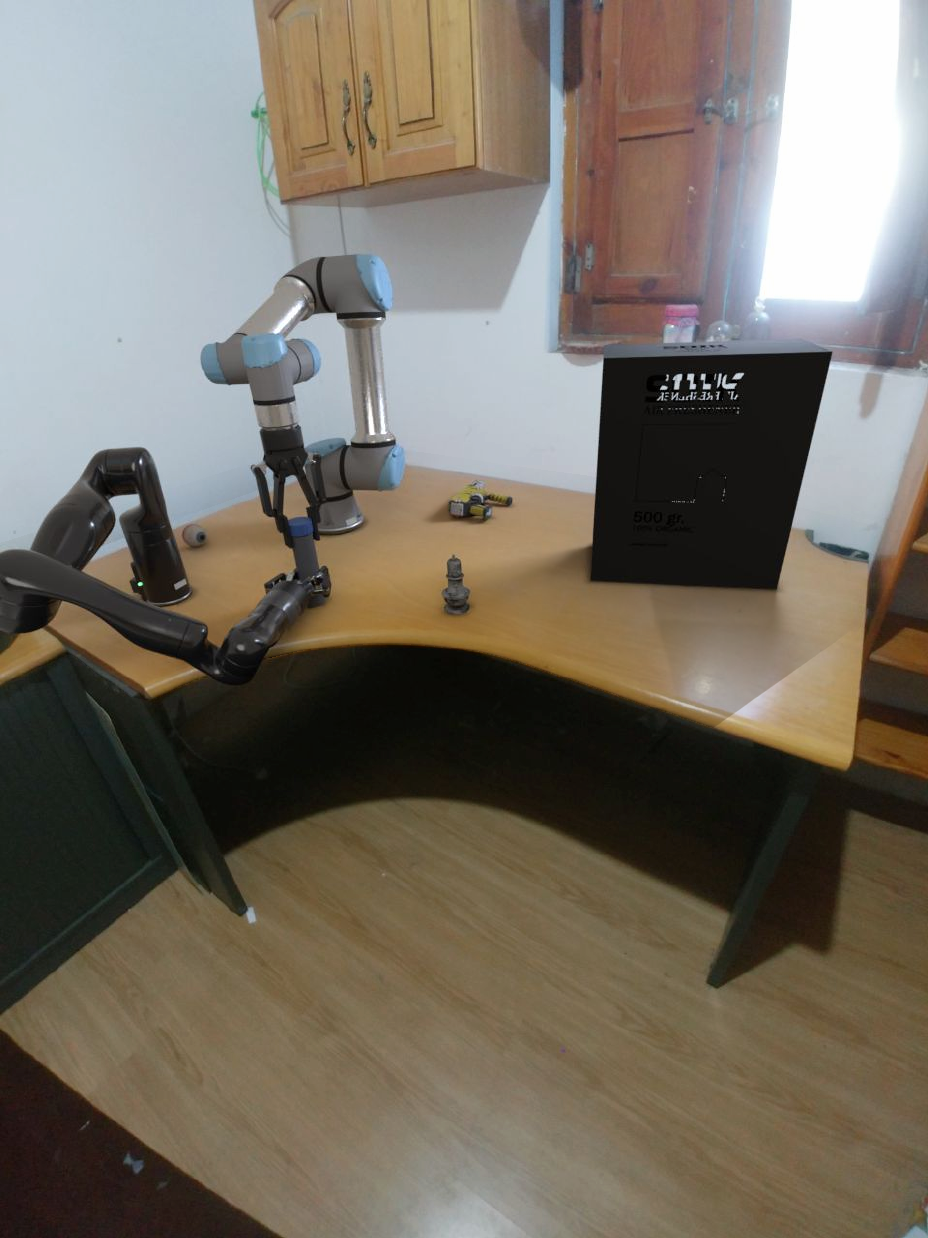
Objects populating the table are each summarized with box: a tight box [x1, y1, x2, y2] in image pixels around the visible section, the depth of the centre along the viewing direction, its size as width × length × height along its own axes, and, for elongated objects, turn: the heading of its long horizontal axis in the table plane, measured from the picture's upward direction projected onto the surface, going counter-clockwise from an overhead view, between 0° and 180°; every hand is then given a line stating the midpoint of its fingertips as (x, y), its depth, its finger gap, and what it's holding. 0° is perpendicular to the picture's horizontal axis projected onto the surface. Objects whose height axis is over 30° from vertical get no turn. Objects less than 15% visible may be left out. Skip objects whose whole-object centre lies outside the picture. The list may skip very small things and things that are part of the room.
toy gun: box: [447, 479, 514, 521], centre depth 175 cm, size 5×24×15 cm
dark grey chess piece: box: [441, 553, 471, 615], centre depth 121 cm, size 6×6×12 cm
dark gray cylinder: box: [291, 532, 326, 608], centre depth 126 cm, size 5×5×18 cm
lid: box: [288, 516, 314, 537], centre depth 121 cm, size 5×5×2 cm
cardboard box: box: [589, 338, 834, 590], centre depth 125 cm, size 38×20×45 cm, turn 78°
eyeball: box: [181, 523, 208, 548], centre depth 159 cm, size 6×6×6 cm
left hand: (314, 569), depth 129 cm, fingers closed on dark gray cylinder, 4 cm apart
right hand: (302, 542), depth 123 cm, fingers closed on lid, 5 cm apart
